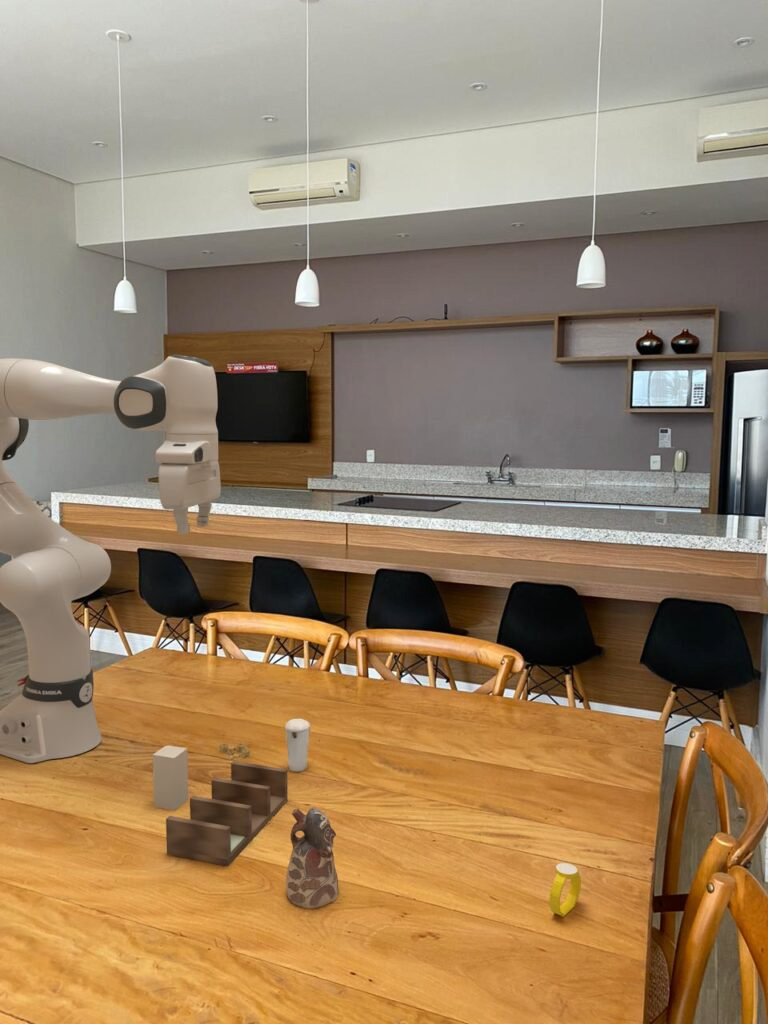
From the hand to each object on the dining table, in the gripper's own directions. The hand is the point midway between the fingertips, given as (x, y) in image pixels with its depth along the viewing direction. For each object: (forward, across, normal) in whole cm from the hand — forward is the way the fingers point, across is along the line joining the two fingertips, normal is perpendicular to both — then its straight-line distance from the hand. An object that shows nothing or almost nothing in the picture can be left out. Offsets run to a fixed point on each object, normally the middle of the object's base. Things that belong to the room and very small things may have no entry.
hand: (193, 529), depth 140 cm
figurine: (+44, +34, +28) cm, 63 cm away
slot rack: (+44, +18, +12) cm, 49 cm away
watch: (+44, +33, +62) cm, 83 cm away
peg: (+44, +12, 0) cm, 46 cm away
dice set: (+45, -8, +4) cm, 46 cm away
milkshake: (+44, -4, +18) cm, 48 cm away
